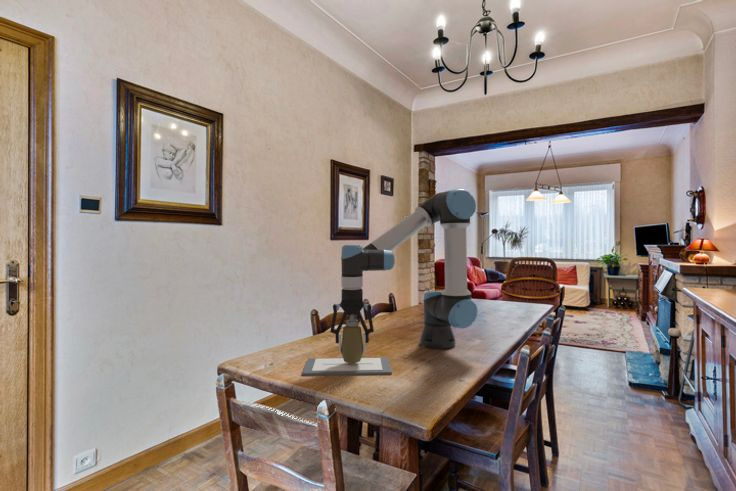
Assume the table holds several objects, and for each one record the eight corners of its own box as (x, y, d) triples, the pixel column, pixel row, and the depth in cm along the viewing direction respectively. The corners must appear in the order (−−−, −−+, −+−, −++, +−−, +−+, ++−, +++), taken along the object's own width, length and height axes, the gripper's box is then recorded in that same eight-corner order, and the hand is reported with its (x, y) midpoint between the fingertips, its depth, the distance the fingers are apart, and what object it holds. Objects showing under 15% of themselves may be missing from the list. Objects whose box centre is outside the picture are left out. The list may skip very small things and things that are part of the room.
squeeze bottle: (360, 365, 132) (360, 313, 132) (338, 363, 134) (338, 312, 134) (365, 358, 140) (365, 309, 140) (344, 356, 142) (344, 308, 142)
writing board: (387, 359, 146) (387, 356, 146) (391, 374, 130) (391, 371, 130) (308, 360, 145) (308, 357, 145) (302, 375, 129) (302, 372, 129)
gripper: (380, 286, 141) (380, 348, 141) (323, 287, 140) (323, 349, 141) (382, 289, 133) (382, 354, 134) (321, 289, 133) (321, 355, 133)
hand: (352, 351), depth 137 cm, fingers closed on squeeze bottle, 8 cm apart
